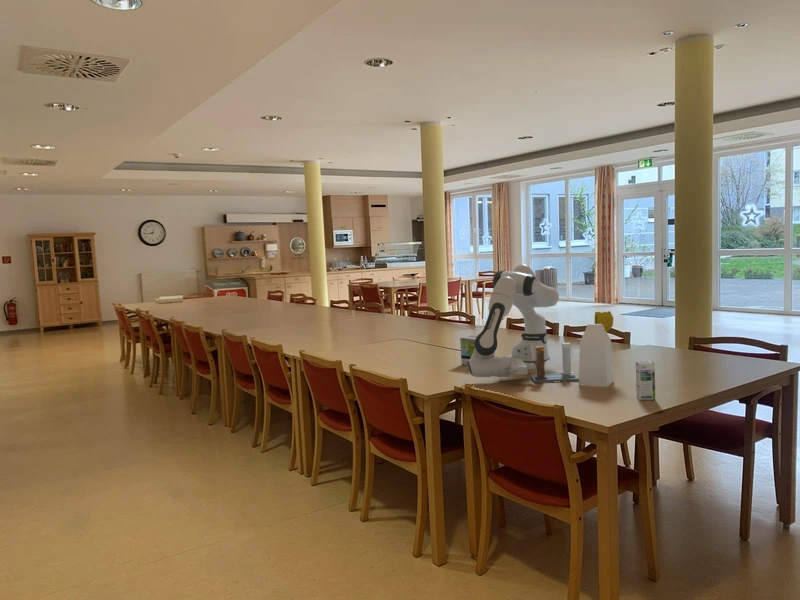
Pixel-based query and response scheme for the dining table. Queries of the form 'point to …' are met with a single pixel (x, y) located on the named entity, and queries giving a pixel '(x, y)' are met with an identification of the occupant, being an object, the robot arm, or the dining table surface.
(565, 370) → the grey lever
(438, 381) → the dining table surface
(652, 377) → the syrup box
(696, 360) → the dining table surface
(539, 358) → the walnut lever
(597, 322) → the flower
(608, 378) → the milk
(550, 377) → the control board
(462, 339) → the tea box
